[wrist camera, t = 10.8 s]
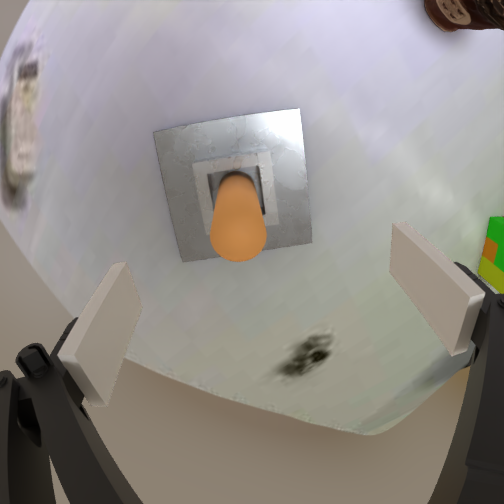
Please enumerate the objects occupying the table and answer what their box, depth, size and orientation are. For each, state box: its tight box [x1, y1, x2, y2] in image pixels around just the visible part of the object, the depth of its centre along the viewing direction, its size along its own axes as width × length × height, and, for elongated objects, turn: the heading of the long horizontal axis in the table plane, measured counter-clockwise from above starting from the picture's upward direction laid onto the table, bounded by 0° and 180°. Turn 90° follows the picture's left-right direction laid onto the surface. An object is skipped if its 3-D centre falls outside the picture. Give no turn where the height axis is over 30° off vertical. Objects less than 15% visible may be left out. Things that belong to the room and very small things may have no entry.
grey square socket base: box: [153, 109, 312, 262], centre depth 35 cm, size 16×16×4 cm
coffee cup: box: [424, 0, 504, 32], centre depth 20 cm, size 9×8×13 cm
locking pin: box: [210, 171, 267, 262], centre depth 29 cm, size 4×4×14 cm
